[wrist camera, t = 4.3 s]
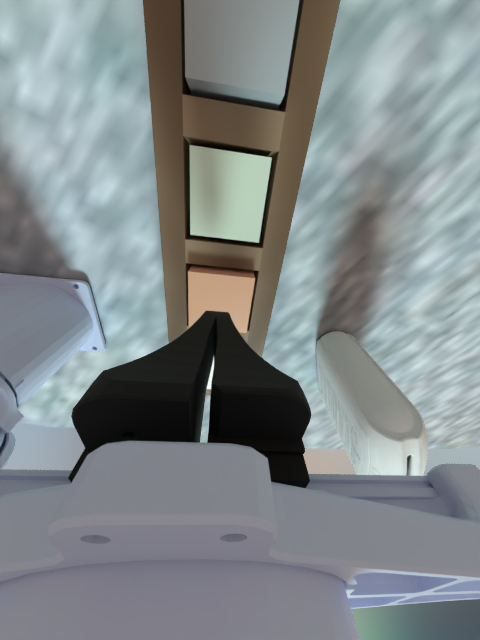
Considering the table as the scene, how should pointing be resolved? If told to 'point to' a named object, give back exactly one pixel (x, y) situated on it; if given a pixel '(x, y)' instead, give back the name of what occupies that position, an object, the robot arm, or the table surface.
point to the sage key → (227, 193)
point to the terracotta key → (220, 293)
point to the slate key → (239, 49)
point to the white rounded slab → (369, 410)
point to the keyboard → (237, 136)
